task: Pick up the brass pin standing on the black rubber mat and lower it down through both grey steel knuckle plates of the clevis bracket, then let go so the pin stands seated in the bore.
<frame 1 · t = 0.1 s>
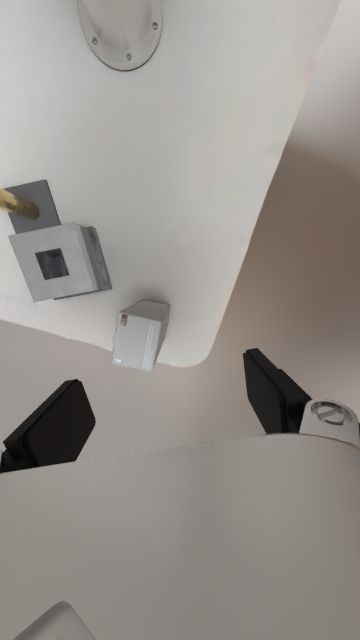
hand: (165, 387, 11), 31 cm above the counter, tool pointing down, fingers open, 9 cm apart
mat: (33, 212, 36), on the counter
pin: (31, 211, 36), resting on mat
skincare box: (152, 318, 42), on the counter
clevis: (76, 265, 39), on the counter
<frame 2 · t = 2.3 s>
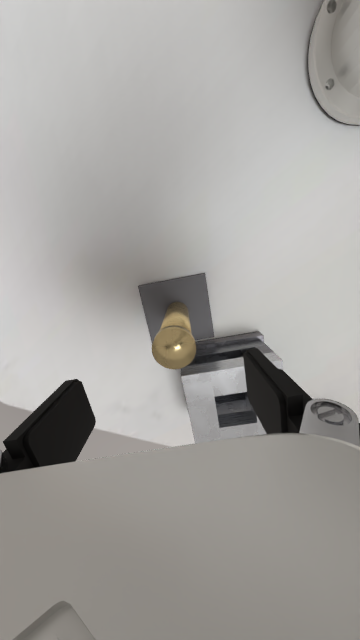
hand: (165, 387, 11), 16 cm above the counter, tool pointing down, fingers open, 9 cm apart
mat: (177, 311, 26), on the counter
pin: (177, 312, 26), resting on mat
clevis: (222, 374, 29), on the counter
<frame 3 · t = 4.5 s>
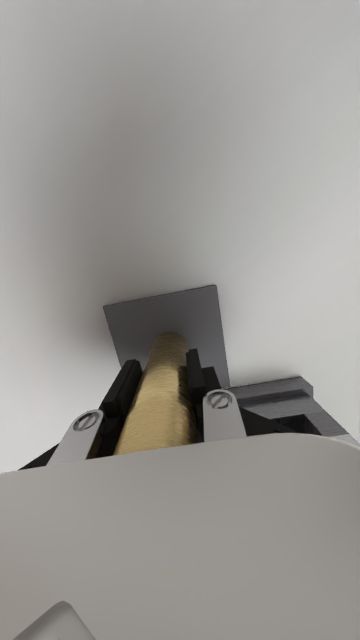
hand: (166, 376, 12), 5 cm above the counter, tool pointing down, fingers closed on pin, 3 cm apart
mat: (170, 347, 16), on the counter
pin: (170, 348, 16), resting on mat, touching gripper
clevis: (241, 439, 19), on the counter
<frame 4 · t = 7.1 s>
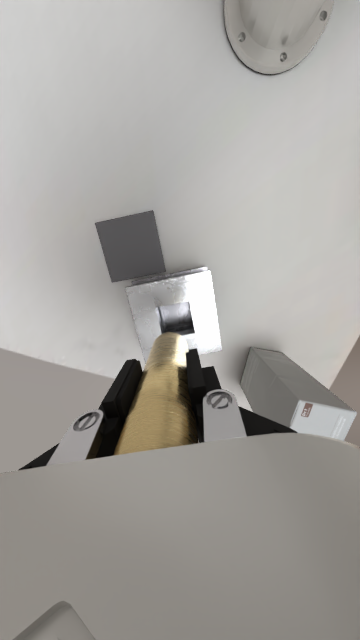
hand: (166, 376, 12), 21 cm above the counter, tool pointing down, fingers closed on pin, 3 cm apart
mat: (132, 248, 30), on the counter
pin: (170, 349, 16), point 17 cm above the counter, touching gripper
skincare box: (258, 366, 35), on the counter
clevis: (176, 309, 32), on the counter
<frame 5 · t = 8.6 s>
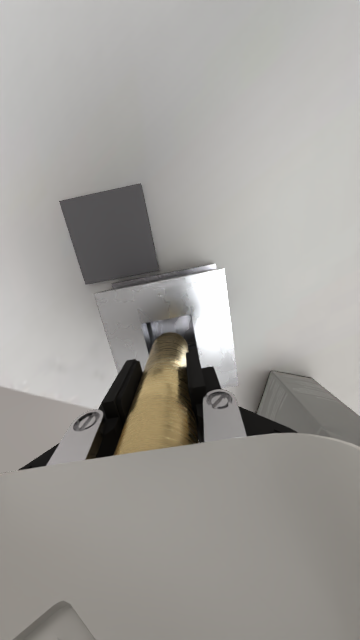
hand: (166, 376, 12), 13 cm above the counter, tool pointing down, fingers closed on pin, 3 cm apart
mat: (112, 237, 21), on the counter
pin: (170, 349, 16), point 9 cm above the counter, touching gripper
skincare box: (279, 395, 27), on the counter
clevis: (173, 320, 24), on the counter
when the fingers open (9 cm above the counter, at t = 9.6 s): pin drops 3 cm, resting on clevis.
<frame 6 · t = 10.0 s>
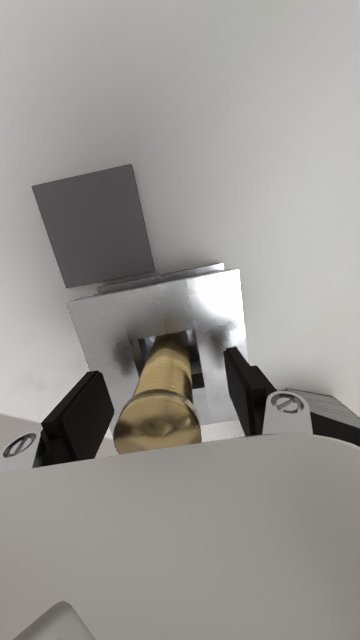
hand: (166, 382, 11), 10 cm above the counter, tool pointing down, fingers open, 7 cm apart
mat: (97, 231, 18), on the counter
pin: (172, 335, 19), point 2 cm above the counter, touching clevis
skincare box: (295, 415, 23), on the counter
clevis: (172, 330, 20), on the counter
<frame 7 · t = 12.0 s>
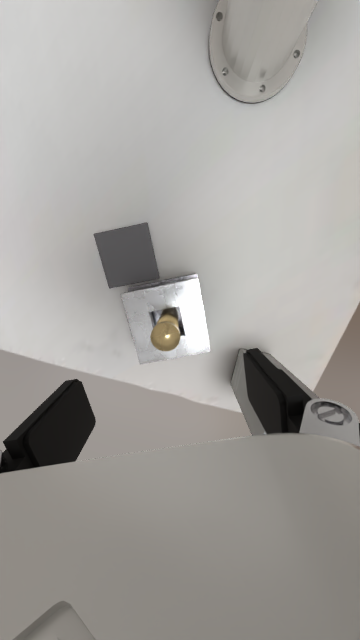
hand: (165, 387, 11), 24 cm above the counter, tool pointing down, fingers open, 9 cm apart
mat: (128, 256, 32), on the counter
pin: (170, 314, 33), point 2 cm above the counter, touching clevis
skincare box: (247, 367, 38), on the counter
clevis: (169, 313, 34), on the counter
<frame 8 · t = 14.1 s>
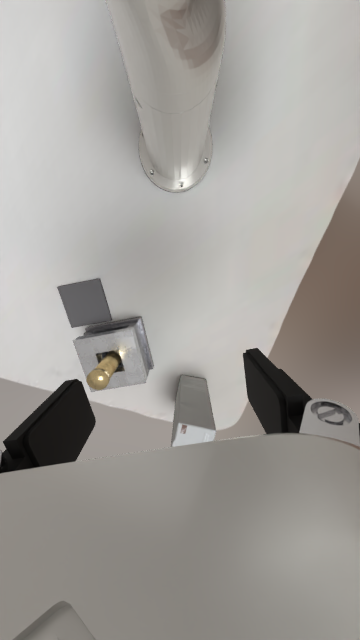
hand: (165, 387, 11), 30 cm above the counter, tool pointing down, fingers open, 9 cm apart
mat: (85, 303, 40), on the counter
pin: (120, 349, 41), point 2 cm above the counter, touching clevis
skincare box: (189, 389, 46), on the counter
clevis: (122, 346, 42), on the counter
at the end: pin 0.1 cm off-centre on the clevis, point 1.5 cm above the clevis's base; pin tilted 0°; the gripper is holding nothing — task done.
